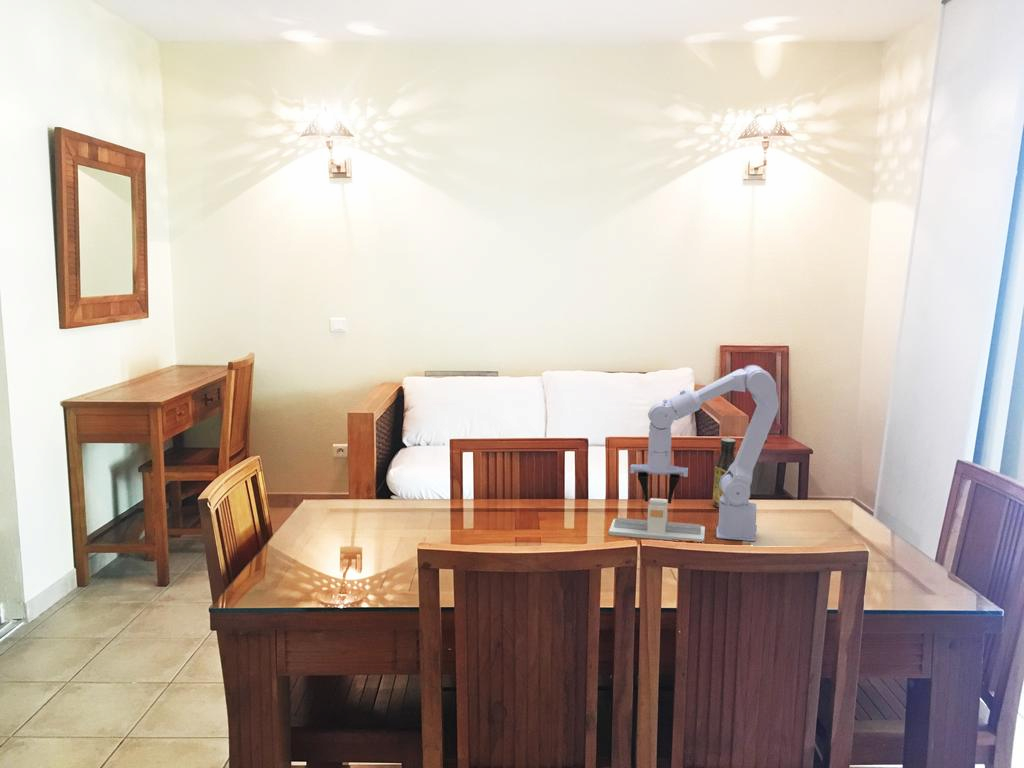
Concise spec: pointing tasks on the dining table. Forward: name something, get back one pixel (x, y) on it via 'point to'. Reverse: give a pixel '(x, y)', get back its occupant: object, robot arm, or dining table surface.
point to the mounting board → (656, 534)
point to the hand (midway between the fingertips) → (658, 501)
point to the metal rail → (669, 528)
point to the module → (657, 515)
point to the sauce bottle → (723, 466)
